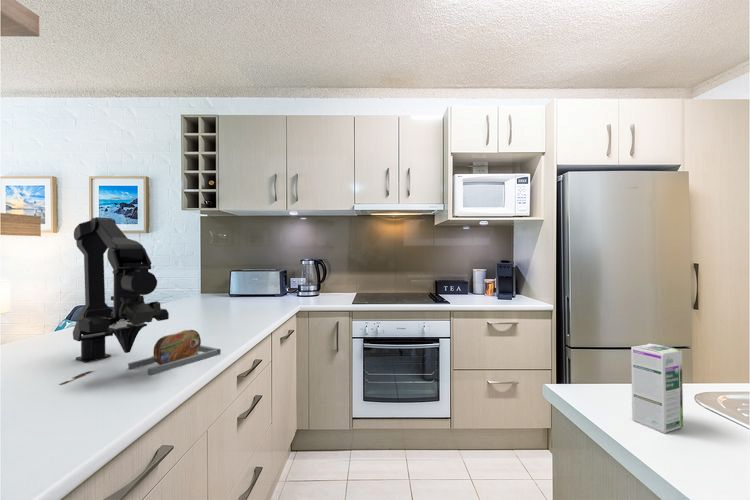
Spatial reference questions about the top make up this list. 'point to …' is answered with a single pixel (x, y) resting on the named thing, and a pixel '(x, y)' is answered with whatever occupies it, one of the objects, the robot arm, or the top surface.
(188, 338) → the tin
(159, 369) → the slate corral
